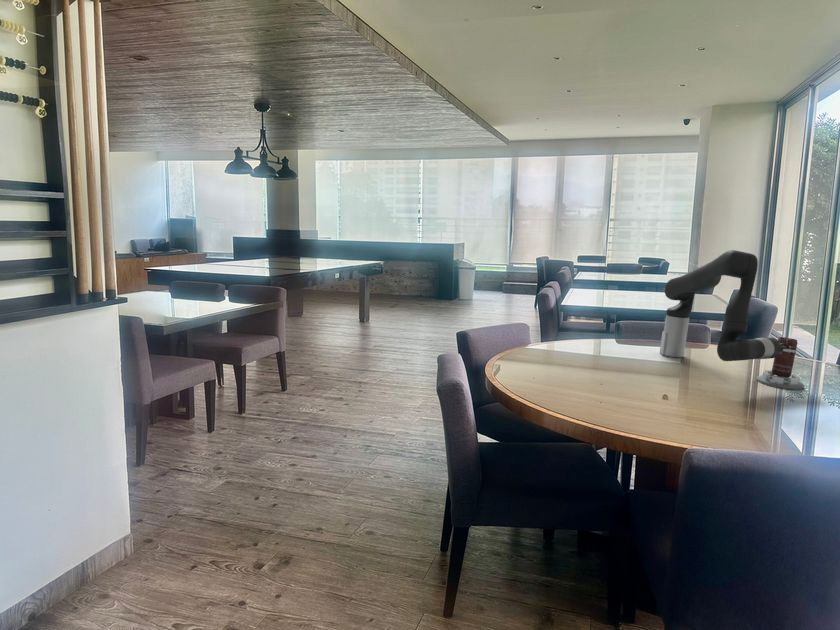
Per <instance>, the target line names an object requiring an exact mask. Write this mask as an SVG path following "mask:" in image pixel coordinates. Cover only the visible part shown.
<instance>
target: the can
mask: <svg viewBox="0 0 840 630" xmlns="http://www.w3.org/2000/svg"><path fill="white" fill-rule="evenodd" d="M777 341H778V342H781V343H786V344H787V345H786V348H787V349H788V346H789V345H793V346H794V347H795V348H796V349H795V354H794V355H792V354H789V352H786V353H781V354H779V355H778V356H777V357H775V358H773V364H772V368H771V370H772V374H773V375H774V376H780V377H789V378H791V377H792V371H793V369H794V368H793V367H794V362H795V357H796V352H797V347H798V340H797V339H795V338H790V337H785V336H784V337H783V336H779V338H778V339H777Z"/></svg>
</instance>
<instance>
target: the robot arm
mask: <svg viewBox="0 0 840 630" xmlns="http://www.w3.org/2000/svg"><path fill="white" fill-rule="evenodd" d="M758 260H759V259H758V258H757V256H756V255H755V254H753V253H750V252H745V251H740V250H737V249H736V250H735V249H731V250H727V251H724V252H723V253H722V254H721V255H718V256H717V257H716V258H715V259H713V260H712V261H710V262H708V263H706V264H704V265H700V267H697V268H695V269H693V270H691V271H690V272H688V273H685V274H683V275H682V276H681V275H680V276H678V277H677V276H676V277H674V278H671V279H669V280H668V281H667V282H666V284H665V286H664V294H665V297H666V298H667V299H668V300H671V301H679V302H678V303H677V304H675V305H673V306H671V307H668V308H667V309H666V312H665V320H664V321H665V322H664V328H663V330H662V334H661V339H660V346H659V347H660V348H659V353H660V354H661V355H662V356H665V357H670V358H671V357H672V358H684V357H685V349H686V343H687V336H688V329H689V323H690V316H691V313H692V310H693V303H694V299H695V295H696V293H698V292H700V293H701V292H704V291H707V290H710V289H713V288H715V287H717V286H718V285H719V283H720V282H721V279H722V276H725V277H731V278H736V279H737V278H738V279H740V287H739V289H738V291H737V292H736V294H735V295H734V297H732V299H731V300H730V301H729V303H728V304H727V306H726V309H725V311H724V312H725V313H724V326H723V330H722V333H721V335H720V337H719V340H718V343H717V347H716V353H717V355H718V358H719V359H720V360H721V361H723V362H735V361H737V362H738V361H739V362H740V361H748V360H768V359H769V360H770V359H774V358H775V357H777V356H778V355H779V354H781V353H786V352H789V354H792V355H794V354H795V355H796V353H795V349H796V350H797V348H795V347H794V346H793V345H789V346H788V349H787V348H786V345H787V344H786V343H781V342H778V339H776V338H774V337H770V336H769V337H757V338H753V339H751V338H750V339H748V338H747V339H737V338H738V337H740V336H742V335H744V334H745V335H746V333H747V331H748V326H749V324H748V323H749V322H748V321H749V309H750V302H751V298H752V294H753V290H754V285H755V281H756V278H757V277H756V276H757V273H758V272H757V271H758V264H759V262H758Z"/></svg>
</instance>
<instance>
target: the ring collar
mask: <svg viewBox="0 0 840 630" xmlns="http://www.w3.org/2000/svg"><path fill="white" fill-rule="evenodd" d="M762 378H763V379H764V380H765V381H770V378H772V382H771V383H776V384H781V385H783V384H784V380H788V381H787V385H789V386H795V385H798V384H799V382H800V380H801V377H800V376H798V375H796V374H791V376H790V377H780V376H776V375H773V374H772V369H771V370H764V371H763V372H762Z"/></svg>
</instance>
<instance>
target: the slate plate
mask: <svg viewBox="0 0 840 630" xmlns="http://www.w3.org/2000/svg"><path fill="white" fill-rule="evenodd" d="M762 375H763V374H762ZM762 375H757V376H756V381H757V382H758V381H759V382H758V383H760V382H761V383H760V384H762V383H763V385H765V384H766V385H765V386H768V385H769V387H772V386H773V388H776V387H778V388H777V389H782V390H793V391H800V390H804V388H805V384H804V383H802V382H801V381H799V384H798V385H795V386H789V385H787V381H788V380H784V384H783V385H781V384H776V383H771V382H772V378H770V381H765V380H764V379H763V378H762Z"/></svg>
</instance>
